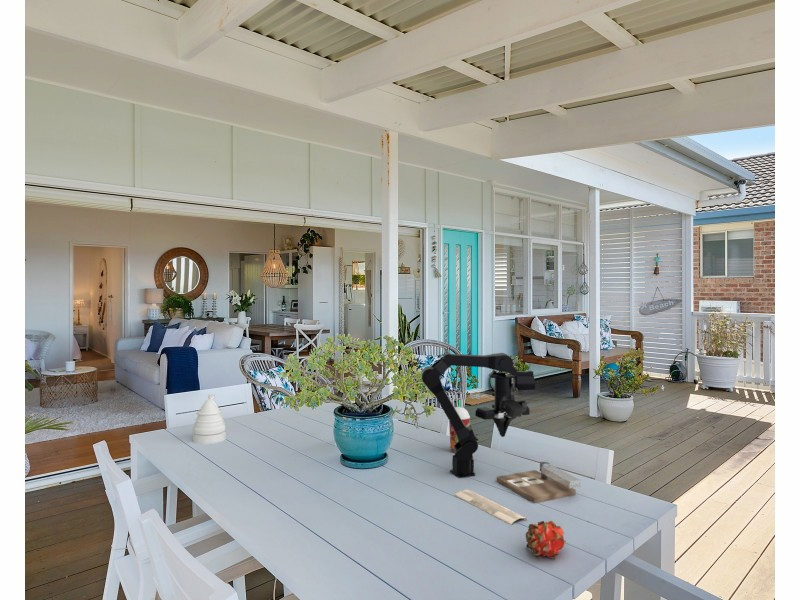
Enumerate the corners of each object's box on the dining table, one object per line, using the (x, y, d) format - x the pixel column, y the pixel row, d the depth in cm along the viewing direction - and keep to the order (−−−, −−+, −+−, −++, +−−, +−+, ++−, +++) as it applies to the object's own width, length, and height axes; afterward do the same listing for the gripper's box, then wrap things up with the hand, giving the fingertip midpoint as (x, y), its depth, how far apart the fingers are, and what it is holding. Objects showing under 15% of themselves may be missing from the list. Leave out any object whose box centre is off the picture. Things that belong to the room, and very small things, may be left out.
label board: (534, 503, 153) (534, 490, 153) (496, 481, 171) (496, 470, 170) (575, 494, 160) (576, 482, 160) (535, 474, 177) (535, 463, 177)
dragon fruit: (525, 568, 120) (556, 559, 128) (552, 558, 115) (583, 549, 123) (511, 529, 125) (542, 523, 132) (537, 518, 120) (567, 512, 127)
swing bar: (536, 470, 170) (536, 462, 170) (546, 468, 171) (547, 461, 171) (569, 488, 155) (569, 479, 155) (580, 486, 156) (580, 478, 156)
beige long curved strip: (527, 522, 142) (527, 515, 142) (508, 528, 138) (508, 522, 138) (469, 493, 162) (469, 488, 162) (452, 498, 158) (452, 492, 158)
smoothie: (469, 448, 206) (470, 397, 206) (470, 454, 198) (470, 402, 197) (448, 447, 207) (448, 397, 207) (448, 454, 199) (448, 401, 198)
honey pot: (200, 434, 223) (200, 392, 222) (230, 435, 222) (230, 393, 222) (187, 443, 210) (187, 399, 209) (218, 444, 209) (218, 399, 209)
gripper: (494, 397, 165) (493, 446, 165) (540, 392, 173) (540, 439, 173) (474, 391, 175) (474, 437, 176) (519, 387, 183) (519, 431, 183)
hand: (502, 436), depth 177 cm, fingers closed
